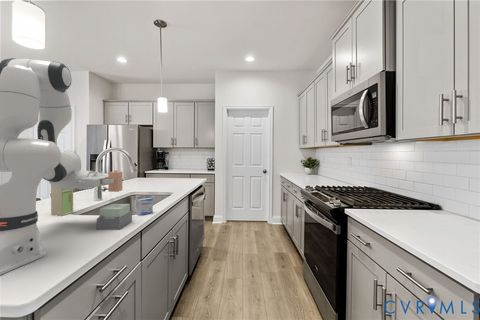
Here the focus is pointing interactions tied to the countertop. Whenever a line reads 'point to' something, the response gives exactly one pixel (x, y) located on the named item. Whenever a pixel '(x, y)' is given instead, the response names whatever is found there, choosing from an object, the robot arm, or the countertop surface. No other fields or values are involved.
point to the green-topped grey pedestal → (114, 217)
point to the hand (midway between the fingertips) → (117, 180)
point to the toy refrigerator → (61, 201)
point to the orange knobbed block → (118, 181)
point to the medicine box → (144, 206)
